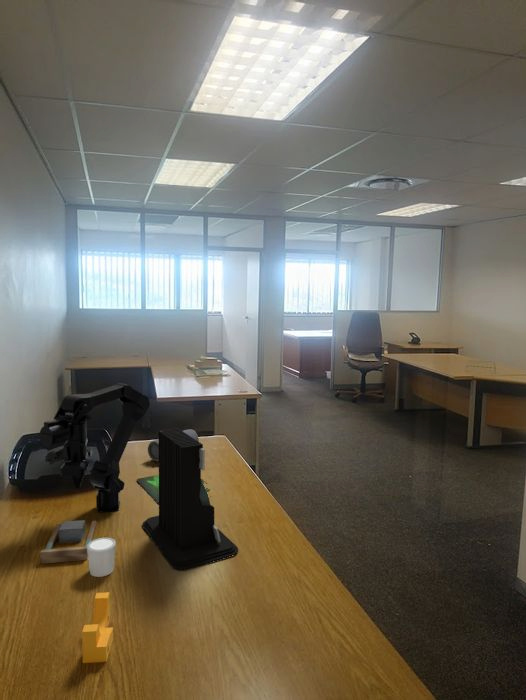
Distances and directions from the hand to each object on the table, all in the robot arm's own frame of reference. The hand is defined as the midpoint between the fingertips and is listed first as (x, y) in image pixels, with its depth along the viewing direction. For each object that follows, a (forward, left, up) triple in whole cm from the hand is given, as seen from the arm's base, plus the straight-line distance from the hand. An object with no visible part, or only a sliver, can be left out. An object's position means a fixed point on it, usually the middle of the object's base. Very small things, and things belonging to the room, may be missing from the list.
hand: (77, 488), depth 145 cm
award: (-32, +15, -11) cm, 37 cm away
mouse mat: (-30, -23, -11) cm, 39 cm away
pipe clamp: (-13, +54, -11) cm, 56 cm away
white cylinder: (-10, +28, -11) cm, 32 cm away
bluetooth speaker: (-30, -57, -11) cm, 65 cm away
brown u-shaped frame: (0, +12, -11) cm, 16 cm away
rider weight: (0, +10, -11) cm, 15 cm away
